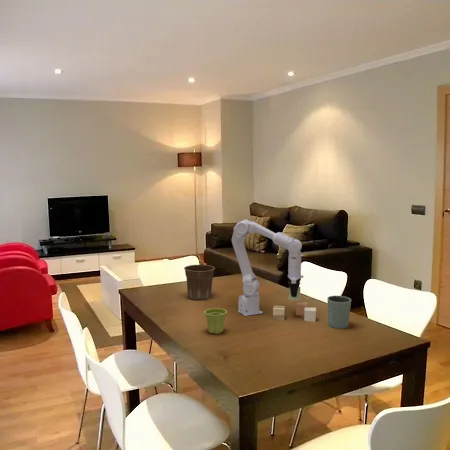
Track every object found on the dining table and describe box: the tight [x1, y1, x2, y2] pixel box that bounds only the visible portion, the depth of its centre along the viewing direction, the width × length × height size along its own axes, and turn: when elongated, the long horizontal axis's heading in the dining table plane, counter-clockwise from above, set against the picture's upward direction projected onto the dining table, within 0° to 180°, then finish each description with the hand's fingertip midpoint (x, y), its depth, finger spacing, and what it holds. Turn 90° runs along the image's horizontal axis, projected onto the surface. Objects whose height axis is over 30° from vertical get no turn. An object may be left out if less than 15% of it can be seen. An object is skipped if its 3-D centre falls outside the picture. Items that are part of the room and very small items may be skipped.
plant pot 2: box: [203, 307, 228, 335], centre depth 193 cm, size 9×9×9 cm
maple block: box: [272, 305, 286, 321], centre depth 211 cm, size 5×5×5 cm
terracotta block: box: [295, 301, 308, 317], centre depth 216 cm, size 5×5×5 cm
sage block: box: [288, 286, 301, 301], centre depth 212 cm, size 5×5×5 cm
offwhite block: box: [303, 306, 317, 323], centre depth 208 cm, size 5×5×5 cm
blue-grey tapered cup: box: [326, 295, 352, 330], centre depth 199 cm, size 10×10×12 cm
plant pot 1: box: [184, 264, 216, 301], centre depth 244 cm, size 16×16×16 cm
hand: (294, 295), depth 212 cm, fingers closed on sage block, 5 cm apart
